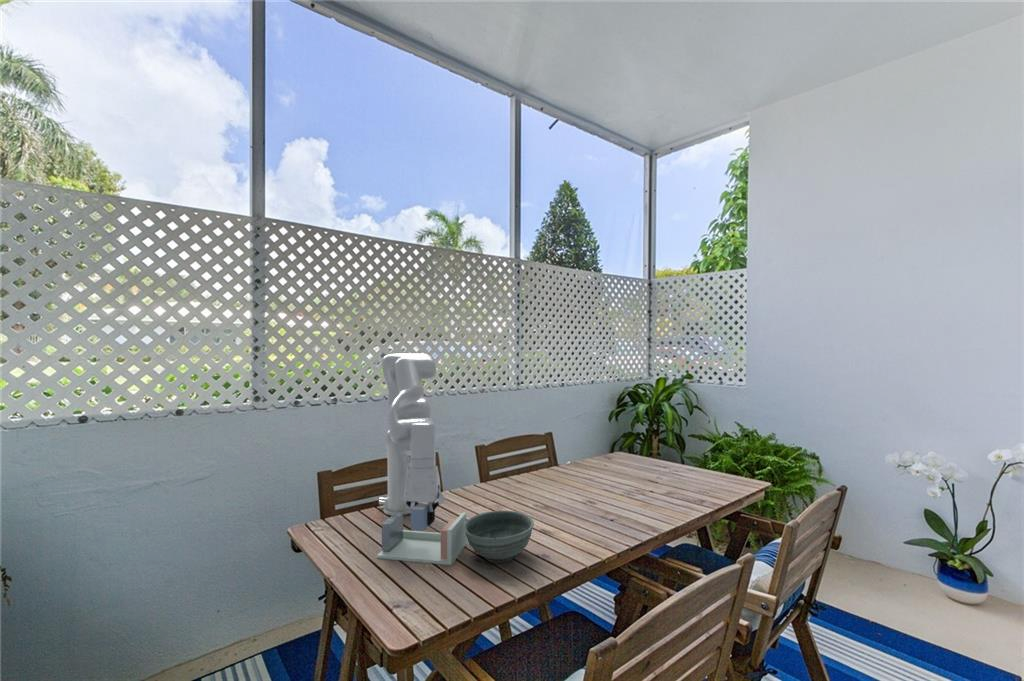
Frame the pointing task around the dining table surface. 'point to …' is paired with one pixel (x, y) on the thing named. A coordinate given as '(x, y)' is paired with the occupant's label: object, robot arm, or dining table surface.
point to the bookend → (392, 531)
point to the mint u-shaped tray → (431, 544)
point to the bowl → (499, 534)
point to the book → (419, 516)
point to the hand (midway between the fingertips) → (423, 522)
